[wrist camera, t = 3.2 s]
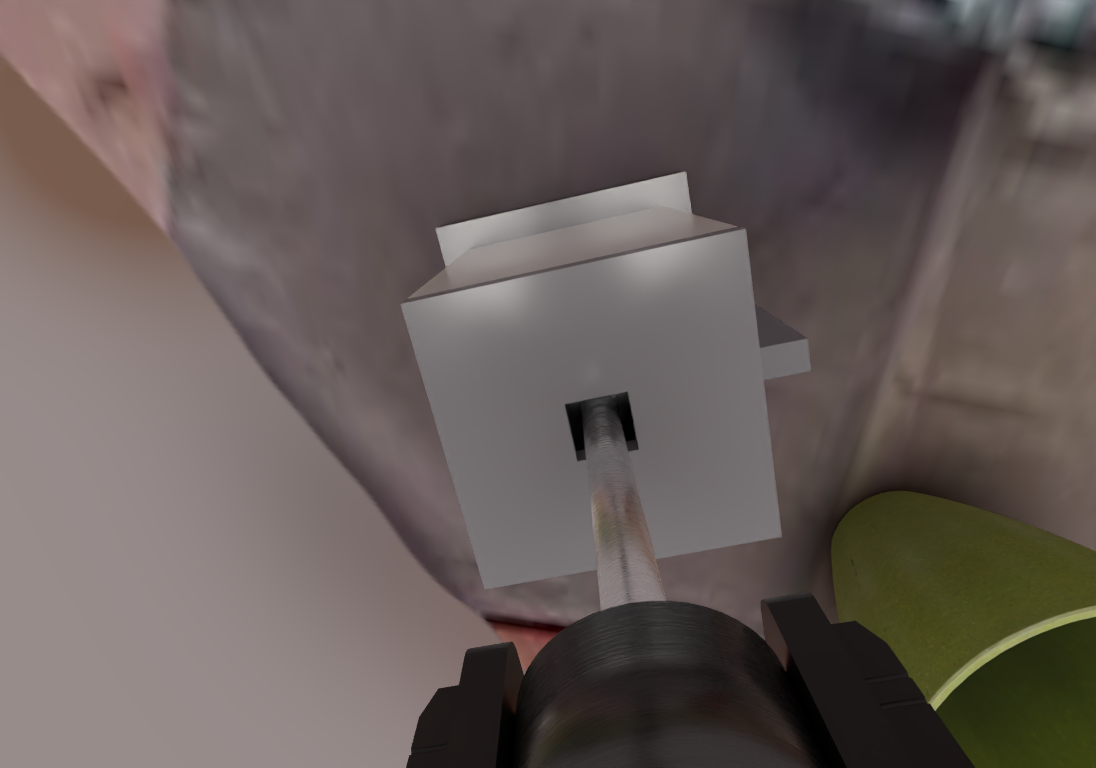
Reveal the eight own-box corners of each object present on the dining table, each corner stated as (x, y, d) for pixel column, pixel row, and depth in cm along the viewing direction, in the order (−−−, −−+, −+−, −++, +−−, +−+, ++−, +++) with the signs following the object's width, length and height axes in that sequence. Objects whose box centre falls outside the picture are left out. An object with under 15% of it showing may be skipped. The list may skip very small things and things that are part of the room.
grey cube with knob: (440, 226, 34) (340, 267, 18) (699, 167, 32) (827, 157, 17) (498, 443, 38) (456, 629, 22) (730, 397, 36) (858, 559, 21)
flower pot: (755, 456, 38) (889, 646, 22) (1011, 406, 36) (1336, 570, 21) (782, 654, 42) (909, 922, 27) (1011, 615, 41) (1279, 873, 26)
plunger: (467, 302, 23) (164, 716, 5) (681, 255, 23) (1151, 551, 5) (517, 490, 26) (421, 1210, 8) (711, 453, 25) (1096, 1146, 7)
